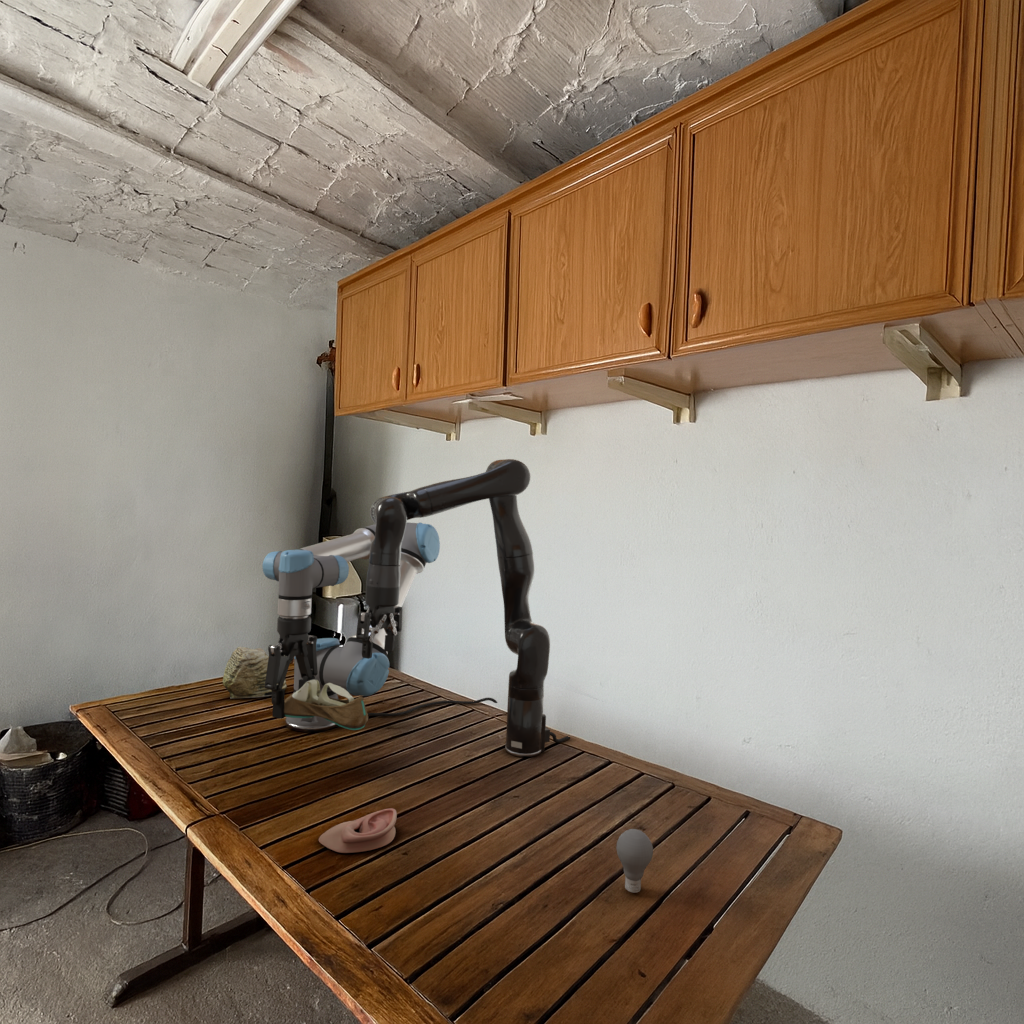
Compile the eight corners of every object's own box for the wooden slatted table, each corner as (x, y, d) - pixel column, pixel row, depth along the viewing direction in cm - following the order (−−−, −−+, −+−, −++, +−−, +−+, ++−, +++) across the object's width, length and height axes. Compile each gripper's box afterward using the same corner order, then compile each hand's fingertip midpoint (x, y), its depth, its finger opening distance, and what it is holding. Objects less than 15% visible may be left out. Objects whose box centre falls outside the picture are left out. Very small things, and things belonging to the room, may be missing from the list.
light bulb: (610, 879, 108) (613, 822, 108) (644, 879, 109) (647, 822, 109) (619, 902, 102) (622, 840, 102) (655, 901, 103) (658, 840, 103)
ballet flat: (293, 705, 155) (294, 670, 155) (375, 724, 145) (377, 686, 145) (267, 716, 148) (268, 678, 147) (352, 736, 138) (354, 695, 138)
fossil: (218, 695, 195) (220, 647, 195) (278, 685, 208) (279, 640, 207) (228, 703, 189) (230, 653, 188) (289, 692, 201) (290, 645, 201)
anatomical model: (310, 826, 114) (340, 797, 125) (309, 848, 114) (339, 817, 125) (379, 837, 111) (403, 806, 122) (378, 859, 111) (403, 827, 123)
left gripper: (274, 624, 138) (270, 728, 139) (335, 611, 157) (332, 702, 157) (248, 620, 141) (245, 722, 142) (311, 608, 160) (308, 697, 160)
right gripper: (378, 588, 137) (373, 663, 137) (414, 583, 150) (409, 651, 150) (350, 584, 140) (345, 657, 140) (387, 579, 153) (382, 646, 153)
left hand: (291, 711), depth 150 cm, fingers closed on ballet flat, 7 cm apart
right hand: (378, 654), depth 145 cm, fingers open, 8 cm apart
